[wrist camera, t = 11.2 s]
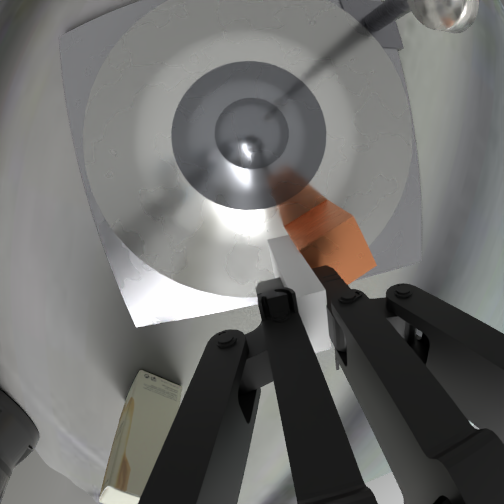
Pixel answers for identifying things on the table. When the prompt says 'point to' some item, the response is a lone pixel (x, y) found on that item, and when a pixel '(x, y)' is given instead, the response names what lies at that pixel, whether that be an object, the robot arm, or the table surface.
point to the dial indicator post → (424, 9)
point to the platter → (227, 219)
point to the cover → (248, 135)
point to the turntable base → (125, 261)
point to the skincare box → (139, 437)
